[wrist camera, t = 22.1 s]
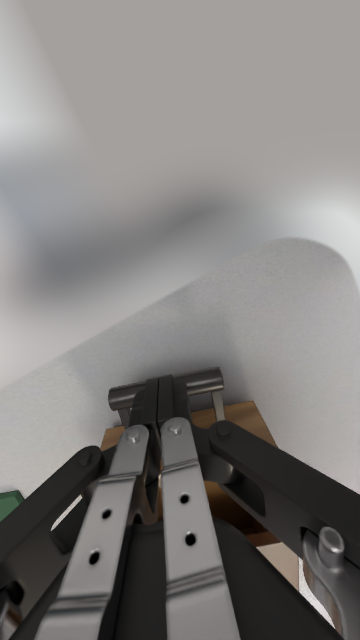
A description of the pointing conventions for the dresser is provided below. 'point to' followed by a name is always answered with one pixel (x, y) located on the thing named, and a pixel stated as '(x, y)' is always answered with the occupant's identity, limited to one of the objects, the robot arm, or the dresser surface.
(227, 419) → the drawer
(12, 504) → the mat
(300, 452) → the dresser surface
